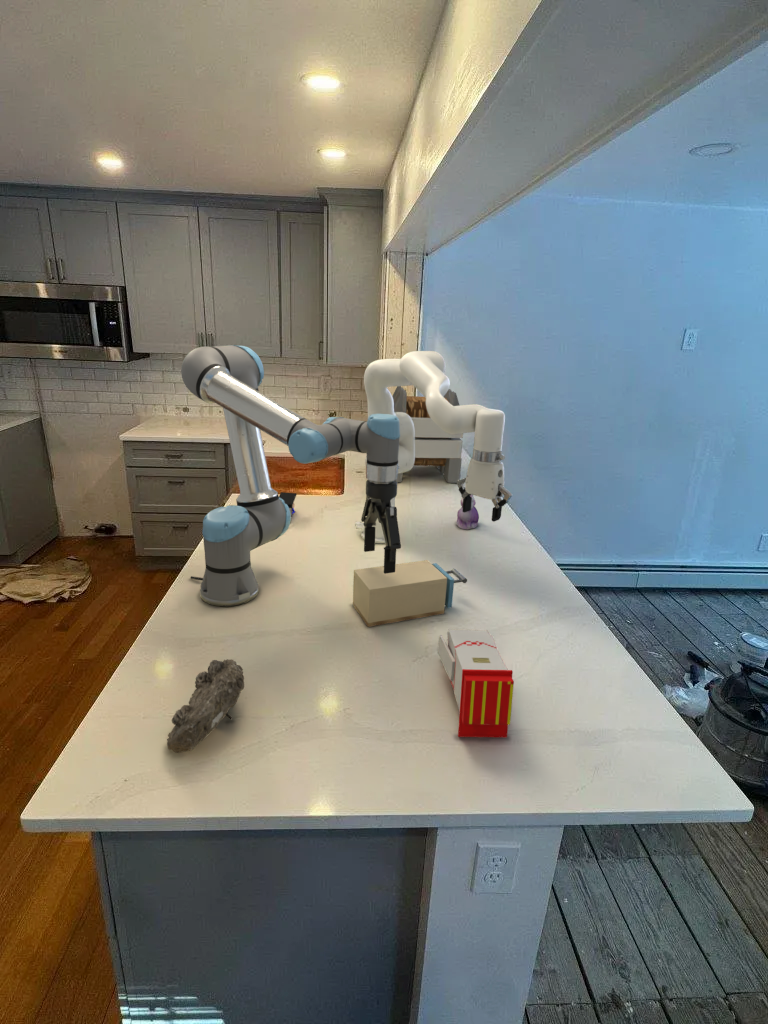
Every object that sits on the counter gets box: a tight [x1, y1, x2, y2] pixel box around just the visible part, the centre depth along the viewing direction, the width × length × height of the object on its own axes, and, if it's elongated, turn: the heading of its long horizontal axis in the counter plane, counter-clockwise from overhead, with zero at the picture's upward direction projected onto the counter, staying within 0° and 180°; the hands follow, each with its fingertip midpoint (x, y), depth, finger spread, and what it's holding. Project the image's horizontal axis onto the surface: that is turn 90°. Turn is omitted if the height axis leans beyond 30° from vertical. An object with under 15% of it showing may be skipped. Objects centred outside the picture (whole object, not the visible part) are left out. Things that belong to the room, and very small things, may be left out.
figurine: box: [455, 495, 480, 530], centre depth 208 cm, size 9×10×15 cm
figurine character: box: [278, 492, 298, 518], centre depth 210 cm, size 7×8×15 cm
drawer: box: [431, 562, 468, 609], centre depth 150 cm, size 25×10×8 cm, turn 112°
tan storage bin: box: [352, 559, 447, 628], centre depth 148 cm, size 21×12×10 cm, turn 112°
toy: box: [437, 628, 515, 738], centre depth 117 cm, size 12×13×30 cm
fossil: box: [166, 658, 245, 754], centre depth 106 cm, size 22×10×15 cm
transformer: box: [392, 386, 464, 484], centre depth 268 cm, size 34×33×41 cm
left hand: (378, 561), depth 142 cm, fingers open, 13 cm apart
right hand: (480, 515), depth 158 cm, fingers open, 9 cm apart
